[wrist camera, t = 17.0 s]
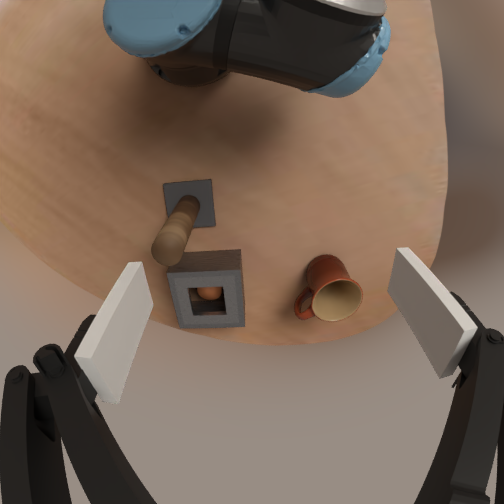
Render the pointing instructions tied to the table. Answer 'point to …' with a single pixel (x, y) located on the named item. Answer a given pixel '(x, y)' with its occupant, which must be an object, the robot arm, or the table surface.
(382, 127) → the table surface
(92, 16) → the table surface
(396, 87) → the table surface
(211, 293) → the orange round ball
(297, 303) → the mug
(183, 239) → the brown cylinder
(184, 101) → the table surface
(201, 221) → the coaster
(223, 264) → the grey hollow block
